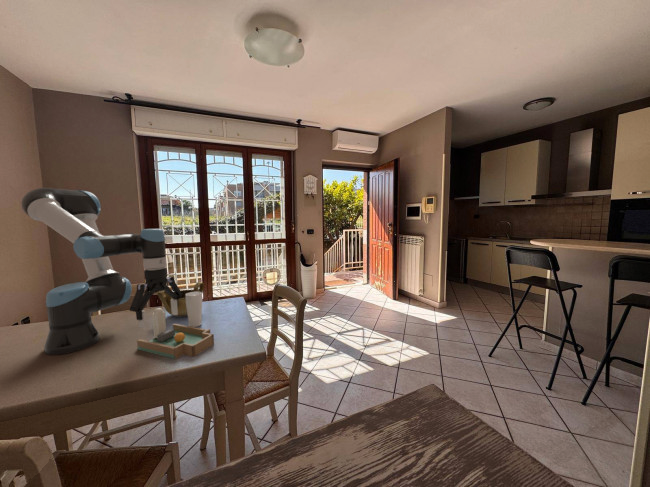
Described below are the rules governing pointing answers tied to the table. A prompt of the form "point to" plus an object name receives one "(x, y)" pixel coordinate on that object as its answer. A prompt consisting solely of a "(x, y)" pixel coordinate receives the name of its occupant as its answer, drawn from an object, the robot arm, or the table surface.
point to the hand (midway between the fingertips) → (159, 320)
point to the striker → (161, 326)
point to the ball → (179, 337)
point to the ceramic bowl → (179, 300)
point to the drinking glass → (194, 308)
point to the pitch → (179, 343)
